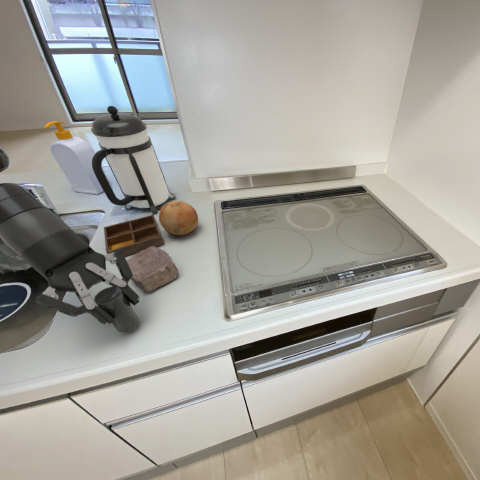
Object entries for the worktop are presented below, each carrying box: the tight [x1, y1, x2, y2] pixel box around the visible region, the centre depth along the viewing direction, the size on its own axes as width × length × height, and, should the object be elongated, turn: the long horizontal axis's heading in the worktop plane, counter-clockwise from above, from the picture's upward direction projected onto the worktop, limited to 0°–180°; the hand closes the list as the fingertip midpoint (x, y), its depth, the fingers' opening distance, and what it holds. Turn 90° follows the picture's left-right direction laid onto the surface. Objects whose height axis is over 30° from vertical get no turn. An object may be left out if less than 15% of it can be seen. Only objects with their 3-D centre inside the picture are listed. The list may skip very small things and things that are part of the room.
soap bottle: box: [44, 120, 112, 195], centre depth 85 cm, size 9×7×23 cm
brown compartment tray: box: [103, 214, 166, 258], centre depth 72 cm, size 12×12×3 cm
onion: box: [158, 200, 199, 236], centre depth 73 cm, size 10×10×10 cm
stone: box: [126, 246, 179, 292], centre depth 62 cm, size 12×9×5 cm
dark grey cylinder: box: [93, 286, 141, 334], centre depth 48 cm, size 4×4×9 cm
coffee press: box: [90, 105, 176, 215], centre depth 77 cm, size 17×16×30 cm
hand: (124, 312), depth 48 cm, fingers closed on dark grey cylinder, 4 cm apart
